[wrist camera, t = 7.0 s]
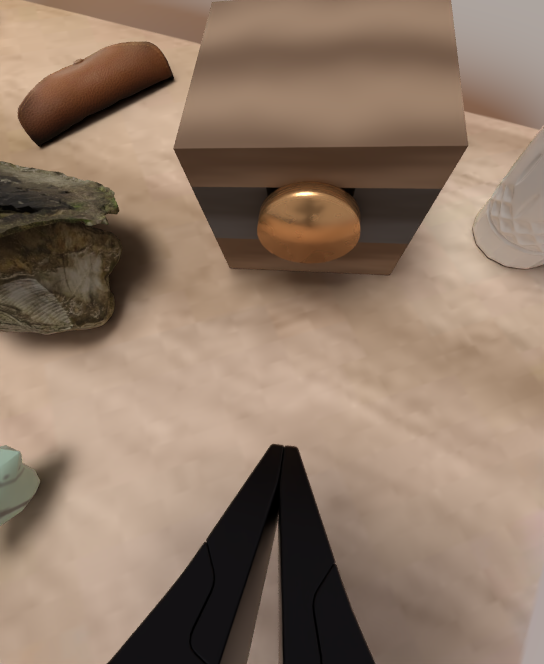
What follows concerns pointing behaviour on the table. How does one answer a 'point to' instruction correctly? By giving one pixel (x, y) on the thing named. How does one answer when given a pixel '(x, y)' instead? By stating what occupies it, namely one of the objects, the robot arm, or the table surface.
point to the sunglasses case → (90, 87)
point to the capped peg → (309, 222)
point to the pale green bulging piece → (15, 483)
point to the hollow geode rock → (54, 251)
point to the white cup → (516, 212)
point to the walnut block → (323, 118)
